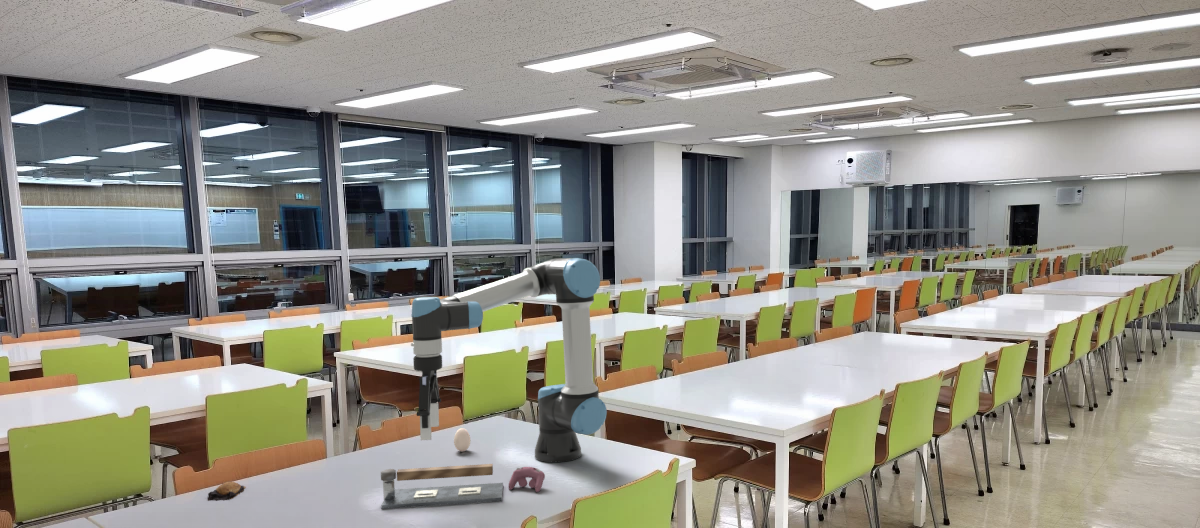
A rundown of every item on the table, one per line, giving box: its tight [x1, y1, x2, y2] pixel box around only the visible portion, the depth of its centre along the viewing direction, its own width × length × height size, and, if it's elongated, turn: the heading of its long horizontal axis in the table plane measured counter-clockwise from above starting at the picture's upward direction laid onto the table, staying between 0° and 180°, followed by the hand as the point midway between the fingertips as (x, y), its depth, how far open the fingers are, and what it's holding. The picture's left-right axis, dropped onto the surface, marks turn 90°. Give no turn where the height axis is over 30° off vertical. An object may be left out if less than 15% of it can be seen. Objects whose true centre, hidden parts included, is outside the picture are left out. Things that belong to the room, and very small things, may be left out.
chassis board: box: [380, 479, 504, 510], centre depth 202 cm, size 32×12×6 cm, turn 96°
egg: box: [453, 427, 471, 453], centre depth 246 cm, size 6×6×8 cm
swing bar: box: [380, 463, 494, 482], centre depth 202 cm, size 30×4×2 cm, turn 96°
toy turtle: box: [206, 481, 247, 501], centre depth 211 cm, size 11×8×4 cm
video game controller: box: [508, 466, 546, 493], centre depth 208 cm, size 10×5×7 cm, turn 71°
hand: (430, 433), depth 197 cm, fingers open, 13 cm apart
